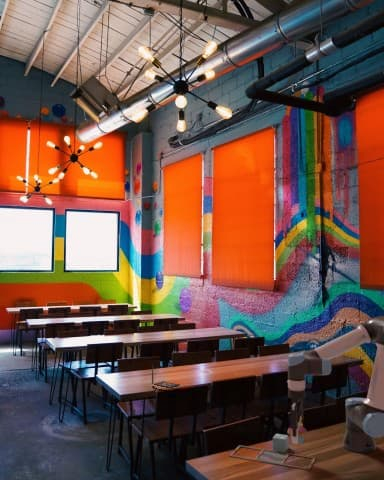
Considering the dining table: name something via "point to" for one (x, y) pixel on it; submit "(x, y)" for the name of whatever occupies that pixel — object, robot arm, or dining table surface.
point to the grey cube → (280, 443)
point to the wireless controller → (164, 383)
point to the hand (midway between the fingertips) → (297, 440)
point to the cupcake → (299, 432)
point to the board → (273, 457)
